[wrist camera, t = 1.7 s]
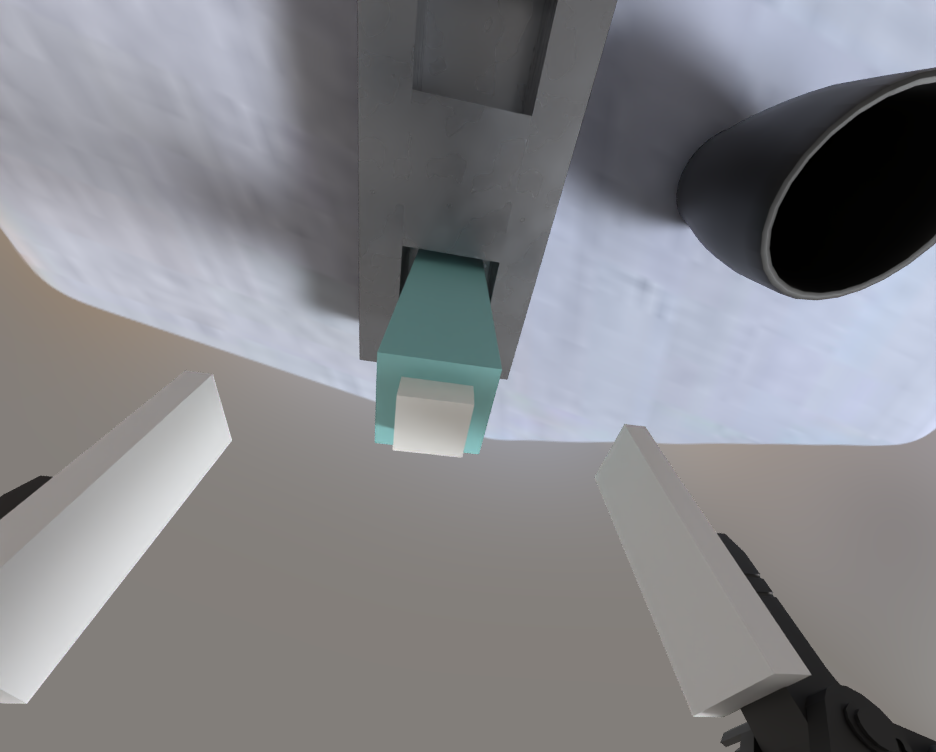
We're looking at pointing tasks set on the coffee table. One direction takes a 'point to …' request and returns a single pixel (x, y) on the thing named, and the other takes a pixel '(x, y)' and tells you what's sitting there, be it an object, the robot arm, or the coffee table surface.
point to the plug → (438, 359)
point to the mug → (821, 187)
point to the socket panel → (467, 141)
